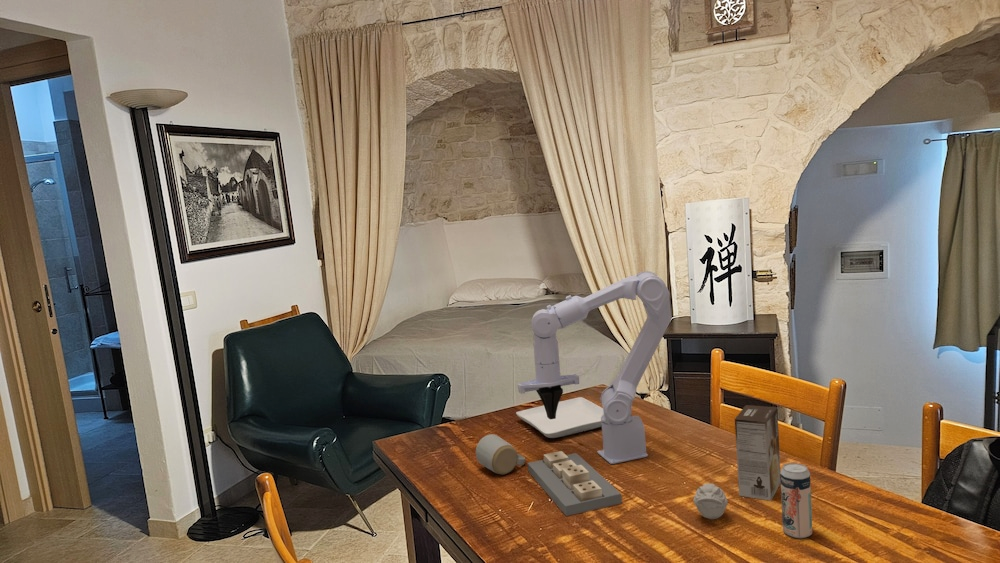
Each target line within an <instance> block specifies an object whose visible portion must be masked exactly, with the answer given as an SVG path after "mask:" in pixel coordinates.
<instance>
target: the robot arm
mask: <svg viewBox="0 0 1000 563" xmlns="http://www.w3.org/2000/svg"><path fill="white" fill-rule="evenodd" d="M670 295H671V293H670V291H669V289H668V287H667V285H666V282H664V280H663V279H662V278H660V277H659V276H657V274H656V273H655V272H652V271H649V270H647V271H646V270H644V271H641V272H639V273H637V274H633V275H629V276H627V277H625V278H622V279H619V280H617V281H615V282H614V283H611V284H609V285H607V286H604V288H601V289H599V290H597V291H594V292H593V293H591V294H589V295H587V296H585V297H581V296H579V295H574V296H572V295H571V294H570V295H567V296H566V297H565V300H562V301H561V302H558V303H555V304H554V305H551V304H549V305H546V309H545V308H542V309H539V310H537V311H535V312H534V313H533V316H532V318H531V322H530V323H531V330H532V331H533V334H532V335H533V336H532V337H533V338H532V339H533V341H534V342H533V344H532V345H533V355H534V357H533V358H534V366H535V367H534V368H535V378H534V379H531V380H528V381H525V382H520V383H517V391H518V393H520V394H521V395H522V394H525V393H528V392H533V391H536V393H537V395H538V397H539V398H540V400H541V402H542V404H543V405H544V407H545V410H546V413H547V417H548V418H549V419H555V418H556V411H557V407H558V403H559V402H560V400H561V398H562V395H563V393H564V389H563V388H562V387H564V386H570V385H579V384H580V376H579V375H577V374H576V373H575V374H565V375H561V364H560V356H559V355H560V353H559V341H558V340H557V330H563V329H565V328H566V327H569V326H573V325H574V324H576V323H578V322H580V321H583V320H585V319H587V317H588V314H589V312H590V311H592V310H594V309H598V308H600V307H602V306H604V305H607V304H610V303H612V302H615V301H618V300H620V299H626V300H632V301H637V297H638V298H639V300H640V301H641V302H642V305H643V307H644V311H645V312H646V314H647V317H646V319H645V321H644V323H643V326H642V327H641V329H640V330H639V333H638V334H637V336H636V339H635V341H634V342H633V345H632V346H631V349H630V350H629V353H628V354H627V357H626V359H625V361H624V363H623V364H622V366H621V368H620V370H619V373H618V375H617V376H616V377H615V378H613V380H612V382H611V383H610V384H609V386H608V387H606V388H605V389H603V391H602V392H601V394H600V403H601V407H602V408H603V412H604V414H603V415H602V417H601V424H602V427H601V434H602V446H603V447H602V448H603V449H600V450H597V452H596V453H597V454H598V455H599V456H601V457H602V458H603V459H604V460H605V461H607V462H608V463H609V464H610V465H614V464H619V463H623V462H630V461H633V460H637V459H642V458H643V459H644V458H647V457H648V456H649V454H648V453H647V445H646V431H645V424H644V423H643V420H642V418H641V417H640V416H639V415H632V405H633V402H634V400H635V397H636V393H637V392H636V391H637V388H638V385H639V384H640V381H641V379H642V377H643V375H644V374H645V372H646V370H647V368H648V365H649V364H650V362H651V361H652V359H653V356H654V354H655V352H656V350H657V349H658V346H659V344H660V343H661V341H662V338H663V337H664V335H665V333H666V331H667V329H668V326H669V325H670V323H671V320H672V311H671V310H672V309H671V300H670ZM636 296H637V297H636ZM543 405H542V406H543Z"/></svg>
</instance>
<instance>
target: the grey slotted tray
mask: <svg viewBox="0 0 1000 563" xmlns="http://www.w3.org/2000/svg"><path fill="white" fill-rule="evenodd" d="M565 455H566V456H568V457H569V460H572V461H573V462H574V463H575V464H576V465H582V466H583V467H584V468H585V469H586V470H587V471H589V475H590V481H592V480H593V481H594V482H595V483H596V484H597V485H598V486H599V487H600V488H602V497H600V498H596V499H591V500H587V501H582V502H580V501H579V500H578V499H577V497H576V496H575V495H574V492H573V489H572V490H569V489H568V488H567V487H566V486H565V484H564V483H563V478H562V479H559V478H558V477H557V476H556V475H555V474H554V473H553V468H552V469H549V468H548V467H547V466H546V464H545V463H544V459H540V460H536V461H530V462H527V463H526V464H527V471H528V473H529V474H530V475H531V476H532V478H533V479H534V480H535V481H536V482H537V483H538V485H539V486H540V487H541V488H542V489H543V490H544V492H545V493H546V494H547V495H548V496H549V498H551V500H552V501H553V502H554V504H555V505H556V506H557V507H558V508H559V509H560V510H561V512H562V513H563V514H564V515H565V517H567V516H572V515H577V514H580V513H586V512H590V511H594V510H598V509H599V510H600V509H603V508H607V507H612V506H616V505H620V504H623V500H622V499H623V497H622V493H621V492H620V491H619V490H618V489H617V488H616V487H614V486H613V485H612V484H611V483H610V482H609V481H608V480H607V479H606V478H604V476H603V475H601V474H600V473H599V472H598V471H597V470H596V469H594V468H593V467H592V466H591V465H590V464H589V463H588V462H587V461H586V460H585V459H584V458H582V456H580V455H579V454H578V453H577V452H575V453H570V454H565Z"/></svg>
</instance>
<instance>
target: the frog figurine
mask: <svg viewBox="0 0 1000 563" xmlns="http://www.w3.org/2000/svg"><path fill="white" fill-rule="evenodd" d="M728 501H729V500H728V499H727V497H726V494H725V492H724V490H723V489H722V488H721V487H719V486H717V485H716V484H714V483H708V482H706V483H704V484H703V485H702V486H699V488H697V489H696V492H695V494H694V497H693V504H694V505H695V506H696V509H697V511H698V512H699V514H701V516H702V517H704V518H706V519H708V520H716V519H719V518H720V517H722V516H723V514H724V512H725V511H726V508H727V506H728V505H729V504H728V503H729V502H728Z"/></svg>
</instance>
